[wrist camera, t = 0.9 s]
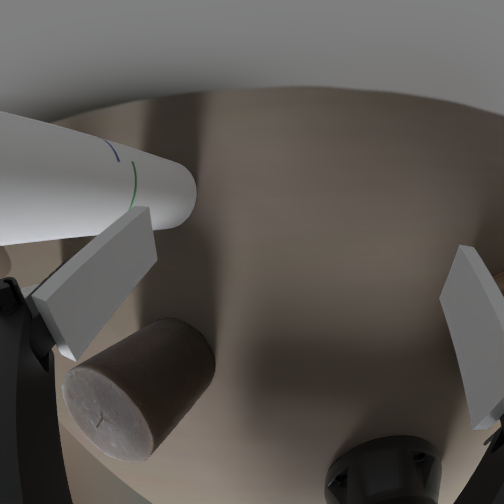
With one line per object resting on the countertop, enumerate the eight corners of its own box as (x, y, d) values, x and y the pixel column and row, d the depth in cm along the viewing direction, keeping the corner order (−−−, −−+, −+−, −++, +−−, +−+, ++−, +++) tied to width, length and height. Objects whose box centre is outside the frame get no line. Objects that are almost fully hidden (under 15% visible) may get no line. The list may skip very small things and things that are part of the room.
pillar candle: (216, 326, 32) (137, 396, 17) (214, 402, 33) (152, 488, 18) (138, 310, 34) (41, 355, 20) (142, 382, 35) (65, 444, 21)
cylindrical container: (173, 147, 31) (-50, 71, 7) (209, 201, 30) (-47, 178, 6) (127, 190, 33) (-90, 176, 8) (159, 242, 32) (-76, 284, 8)
